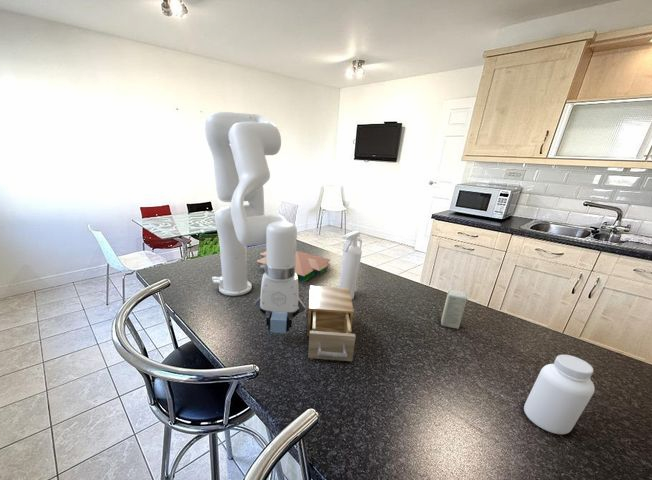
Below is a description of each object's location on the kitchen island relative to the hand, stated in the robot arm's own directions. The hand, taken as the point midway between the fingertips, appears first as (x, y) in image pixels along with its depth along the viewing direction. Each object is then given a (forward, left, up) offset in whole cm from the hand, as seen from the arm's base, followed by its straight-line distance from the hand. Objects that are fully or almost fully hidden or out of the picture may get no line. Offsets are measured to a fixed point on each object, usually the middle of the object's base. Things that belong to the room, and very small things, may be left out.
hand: (279, 327), depth 84 cm
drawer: (+14, -4, -3) cm, 15 cm away
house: (-1, +54, -4) cm, 55 cm away
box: (+53, +14, -4) cm, 55 cm away
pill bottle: (+59, -21, -4) cm, 63 cm away
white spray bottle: (+22, +29, -4) cm, 37 cm away
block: (0, 0, 0) cm, 0 cm away
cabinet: (+14, +9, -4) cm, 18 cm away
